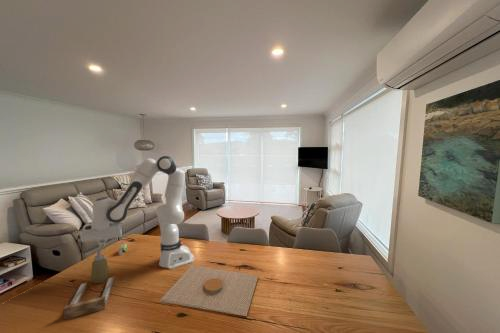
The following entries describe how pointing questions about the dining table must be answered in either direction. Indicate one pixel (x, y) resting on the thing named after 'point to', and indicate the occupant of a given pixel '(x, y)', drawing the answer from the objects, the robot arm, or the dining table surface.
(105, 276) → the squeeze bottle
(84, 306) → the cradle
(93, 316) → the dining table surface
